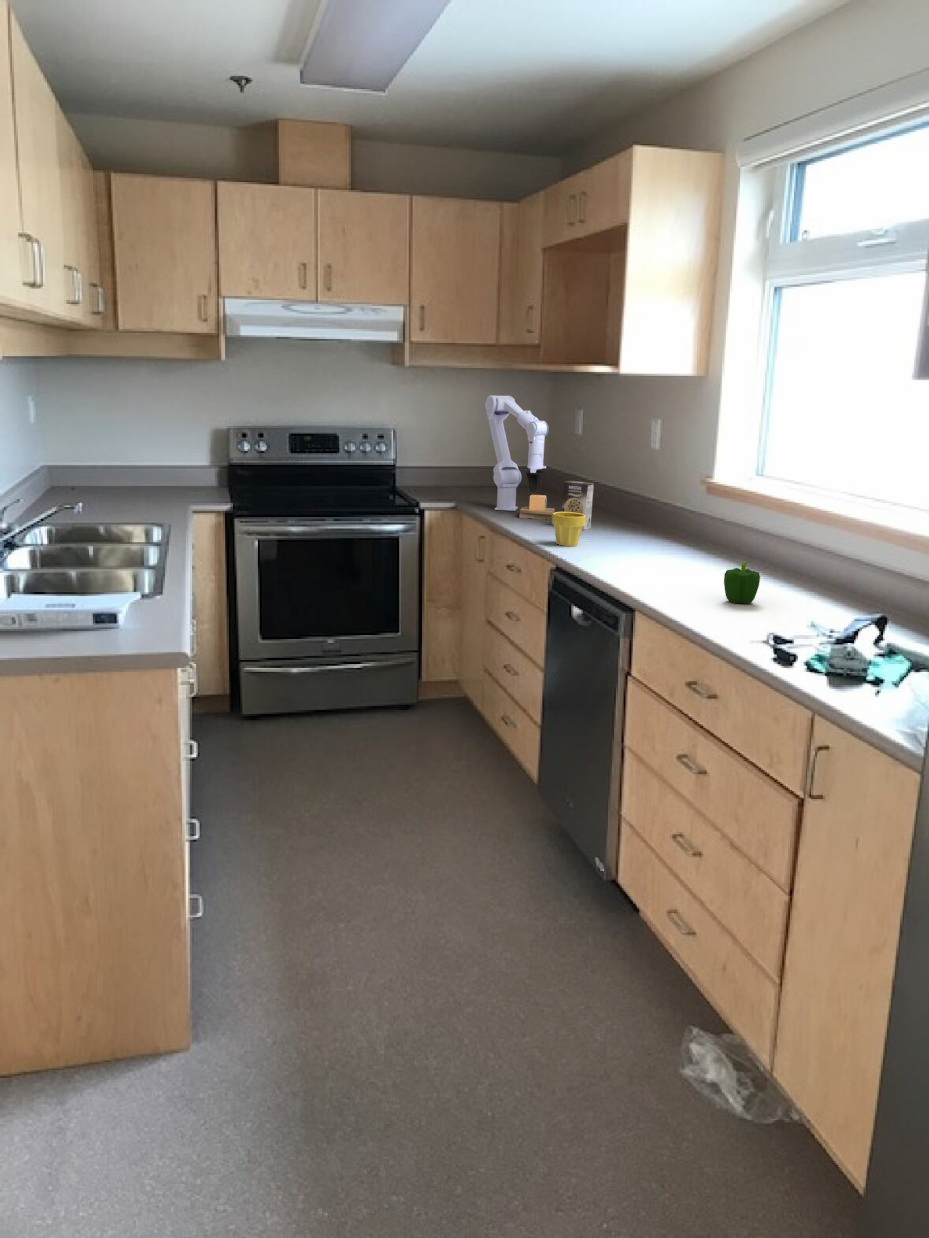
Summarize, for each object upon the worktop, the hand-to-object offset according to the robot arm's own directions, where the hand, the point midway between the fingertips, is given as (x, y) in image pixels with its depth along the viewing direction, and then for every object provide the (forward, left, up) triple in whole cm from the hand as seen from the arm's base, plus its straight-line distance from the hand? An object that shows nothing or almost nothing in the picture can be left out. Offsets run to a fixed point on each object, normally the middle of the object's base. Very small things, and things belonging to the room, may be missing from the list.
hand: (534, 490), depth 375 cm
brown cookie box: (+24, +18, -10) cm, 31 cm away
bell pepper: (+127, +66, -10) cm, 143 cm away
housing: (+4, +2, -6) cm, 8 cm away
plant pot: (+60, +18, -10) cm, 63 cm away
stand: (+4, +2, -9) cm, 10 cm away
